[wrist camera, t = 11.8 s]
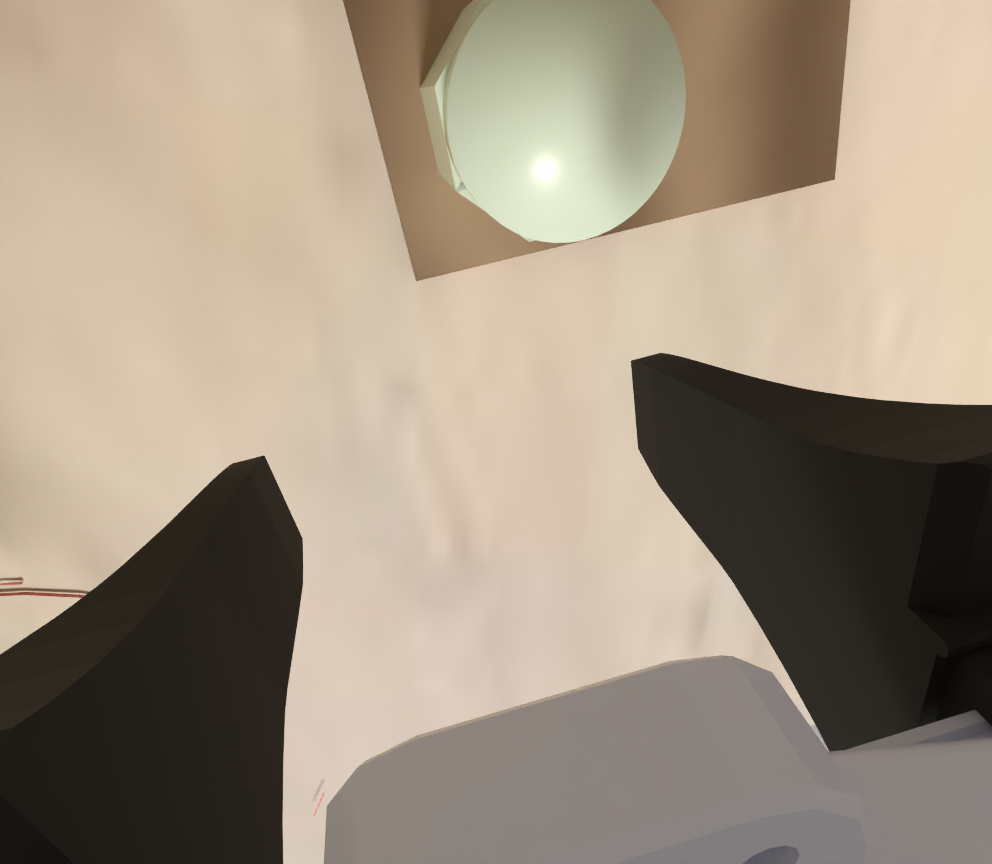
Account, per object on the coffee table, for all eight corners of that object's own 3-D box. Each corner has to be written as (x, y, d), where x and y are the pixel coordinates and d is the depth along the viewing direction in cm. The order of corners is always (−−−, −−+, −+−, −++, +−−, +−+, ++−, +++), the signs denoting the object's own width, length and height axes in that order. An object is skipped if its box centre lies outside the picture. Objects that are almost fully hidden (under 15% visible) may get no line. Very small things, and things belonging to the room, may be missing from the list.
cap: (405, 21, 16) (420, -6, 12) (597, -19, 16) (682, -60, 12) (449, 226, 18) (476, 266, 14) (614, 187, 19) (688, 215, 14)
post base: (844, -233, 16) (978, -325, 12) (815, 175, 21) (904, 192, 17) (309, -129, 15) (293, -196, 11) (414, 272, 20) (424, 310, 16)
